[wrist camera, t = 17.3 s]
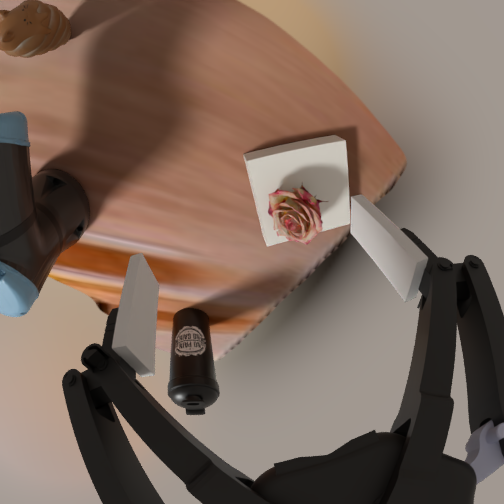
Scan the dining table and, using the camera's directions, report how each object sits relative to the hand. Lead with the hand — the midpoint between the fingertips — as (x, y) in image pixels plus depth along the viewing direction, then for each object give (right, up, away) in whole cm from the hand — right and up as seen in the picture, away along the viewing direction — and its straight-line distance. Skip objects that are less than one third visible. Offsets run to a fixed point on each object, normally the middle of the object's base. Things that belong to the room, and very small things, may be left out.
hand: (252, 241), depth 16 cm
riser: (+8, +11, +30) cm, 33 cm away
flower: (+9, +9, +27) cm, 30 cm away
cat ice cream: (-29, +33, +6) cm, 44 cm away
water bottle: (-14, -17, +46) cm, 51 cm away
